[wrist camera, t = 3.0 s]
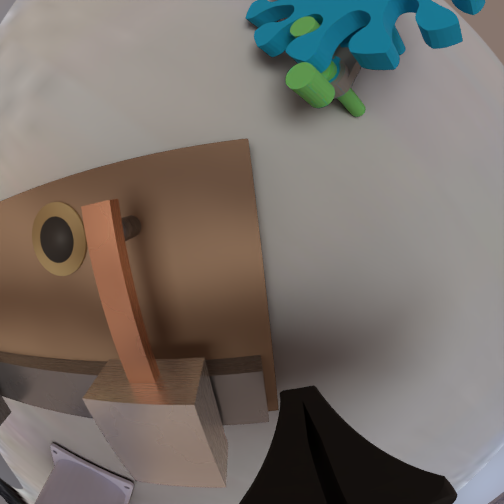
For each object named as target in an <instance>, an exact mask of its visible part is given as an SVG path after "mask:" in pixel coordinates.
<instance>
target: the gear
mask: <svg viewBox="0 0 504 504" xmlns="http://www.w3.org/2000/svg"><path fill="white" fill-rule="evenodd" d="M452 2H453V4H454V5H455V6H456V7H457V8H458V9H460V10H461V11H463V12H465V13H468V14H471V15H474V14H477V13H478V12H479V11H481V9H482V8H483V6H484V4H485V0H452ZM408 12H414V13H416V21H417V24H418V26H419V29H420V31H421V34H422V37H423V39H424V41H425V42H426V44H427V45H428V46H430V47H431V48H433V49H436V48H445V47H449V46H452V45H455V44H457V43H460V42H462V41H463V40H462V34H461V29H460V25H459V21H458V18H457V16H456V15H455V14H454V13H453V12H452V11H450V10H449V9H446V8H444V7H442V6H440V5H438V4H436V3H435V2H433V1H432V0H277V1H275V2H269V1H267V0H257V1H255V2H253V3H252V5H251V6H250V8H249V10H248V12H247V15H246V19H247V20H248V21H250V22H251V23H252V24H254V25H255V26H256V27H258V29H257V30H256V31H255V34H254V39H255V42H256V44H257V46H258V47H259V48H260V49H262V50H263V51H264V52H266V53H267V54H268V55H269V56H271V57H275V56H278V55H279V54H281V53H283V52H284V51H285V50H286V53H287V54H288V55H289V56H290V57H292V58H293V59H294V60H295V61H296V62H297V63H298V64H296V65H295V66H293V67H292V68H291V69H290V70H289V72H288V73H287V75H286V84H287V86H288V87H289V88H291V89H292V90H293V91H294V92H296V93H297V94H298V95H299V96H300V97H302V98H303V99H304V100H305V101H306V102H308V103H309V104H310V105H311V106H312V107H315V108H322V107H325V106H327V105H328V104H330V103H331V101H332V100H333V99H335V98H337V99H338V100H339V101H340V102H341V103H342V104H343V105H344V106H345V107H346V109H347V110H348V111H349V112H350V113H351V114H352V115H353V116H355V117H359V116H361V115H363V114H364V112H365V106H364V104H363V103H362V102H361V100H360V99H359V98H358V97H357V95H356V94H355V93H354V92H353V90H352V89H351V86H352V84H353V82H354V80H355V78H356V76H357V74H358V72H359V70H360V68H361V67H363V68H366V69H372V70H394V69H396V67H397V66H398V64H399V60H400V57H399V55H401V54H403V53H404V51H405V46H404V44H403V41H402V39H401V37H400V35H399V33H398V31H397V29H396V27H395V22H396V20H397V18H398V17H399V16H400V15H401V14H403V13H408ZM287 17H289V18H287ZM283 18H287V19H286V20H284V21H281V22H275V21H278V20H280V19H283Z"/></svg>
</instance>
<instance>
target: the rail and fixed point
mask: <svg viewBox="0 0 504 504" xmlns="http://www.w3.org/2000/svg"><path fill="white" fill-rule="evenodd" d="M205 361H206V365H207V369H208V373H209V377H210V381H211V385H212V389H213V393H214V396H215V400H216V404H217V407H218V411H219V414H220V418H221V421H222V425H237V424H250V423H261V422H269V415H268V405H267V398H266V390H265V382H264V375H263V367H262V359H261V355H254V356H244V357H234V358H223V359H209V360H205ZM107 362H108V361H85V360H70V359H58V358H48V357H38V356H30V355H22V354H15V353H9V352H3V351H0V425H1V424H2V423H3V422H4V420H5V419H6V418H7V417H8V416H9V414H10V413H11V411H10V409H9V408H8V406H7V404H6V403H5V401H4V399H3V398H2V396H4V397H7V398H10V399H13V400H16V401H19V402H23V403H26V404H29V405H33V406H37V407H41V408H44V409H49V410H53V411H57V412H62V413H66V414H71V415H76V416H82V417H87V418H93V417H92V415H91V413H90V412H89V410H88V408H87V406H86V405H85V403H84V401H83V399H82V398H83V396H84V395H85V394H86V392H87V391H88V389H89V388H90V386H91V385H92V383H93V382H94V380H95V379H96V378H97V376H98V375H99V373H100V372H101V370H102V369H103V368H104V366H105V365H106V363H107Z"/></svg>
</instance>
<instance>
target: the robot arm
mask: <svg viewBox="0 0 504 504" xmlns="http://www.w3.org/2000/svg"><path fill="white" fill-rule="evenodd" d="M50 448H51V453H52V458H53V462H54V468H53V470H52V472H51V474H50V475H49V477H48V479H47V481H46V483H45V485H44V487H43V489H42V490H41V492H40V494H39V496H38V498H37V500H36V502H35V504H128V503H129V500H130V497H131V493H132V490H133V487H134V484H133V483H132V482H131V481H128V480H126V479H124V478H121V477H119V476H116V475H114V474H112V473H109V472H107V471H105V470H103V469H101V468H99V467H97V466H94V465H92V464H90V463H88V462H86V461H85V460H83V459H81V458H79V457H77V456H75V455H73V454H71V453H70V452H68V451H66V450H64V449H63V448H61V447H59V446H58V445H56V444H54V443H52V444H51V445H50ZM456 498H457V493H456V491H455V490H454V488H453V486H452V485H451V484H450V482H449V481H448V480H447V479H446V478H445V476H441V475H437V474H434V473H430V472H427V471H424V470H421V469H419V468H416V467H414V466H411V465H409V464H407V463H405V462H403V461H401V460H399V459H397V458H395V457H393V456H391V455H389V454H387V453H386V452H384V451H382V450H381V449H379V448H378V447H376V446H375V445H373V444H372V443H370V442H369V441H368V440H366V439H365V438H364V437H362V436H361V435H360V434H359V433H357V432H356V431H355V430H354V429H353V428H352V427H351V426H350V425H348V424H347V423H346V422H345V421H344V420H343V419H342V418H341V417H340V416H339V415H338V414H337V412H336V411H335V410H334V409H333V408H332V407H331V406H330V405H329V403H328V402H327V401H326V400H325V399H324V397H323V396H322V395H321V393H320V392H319V391H318V389H317V388H316V387H315V386H309V387H303V388H297V389H290V390H283V391H282V392H281V393H280V411H279V417H278V422H277V426H276V430H275V434H274V437H273V440H272V443H271V446H270V448H269V451H268V454H267V456H266V458H265V460H264V463H263V465H262V467H261V469H260V471H259V473H258V475H257V476H256V478H255V480H254V482H253V483H252V485H251V487H250V488H249V490H248V491H247V493H246V494H245V496H244V497H243V499H242V500H241V501H240V503H239V504H453V503H454V501H455V500H456ZM488 504H504V492H503V493H502V494H500V495H499V496H498V497H497V498H495V499H494V500H493V501H491V502H490V503H488Z"/></svg>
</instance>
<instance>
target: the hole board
mask: <svg viewBox="0 0 504 504" xmlns="http://www.w3.org/2000/svg"><path fill="white" fill-rule="evenodd" d="M113 199H118V200H119V207H120V213H121V218H122V217H126V216H130V215H133V216H136V217H137V218H138V219H139V220H140V222H141V231H140V233H139V235H138V236H136V237H134V238H132V239H130V240H128V241H126V242H125V243H126V248H127V253H128V258H129V263H130V268H131V272H132V277H133V281H134V285H135V290H136V294H137V298H138V302H139V306H140V309H141V313H142V317H143V320H144V324H145V327H146V331H147V334H148V338H149V341H150V344H151V348H152V351H153V354H154V357H155V359H184V358H202V357H205V360H209V359H223V358H234V357H244V356H254V355H261V359H262V367H263V375H264V382H265V390H266V398H267V405H268V411H275V410H279V409H278V399H277V389H276V379H275V370H274V360H273V351H272V341H271V332H270V323H269V313H268V304H267V295H266V286H265V277H264V268H263V260H262V251H261V242H260V234H259V225H258V216H257V208H256V200H255V191H254V183H253V175H252V167H251V158H250V150H249V142H248V139H239V140H231V141H224V142H217V143H210V144H204V145H198V146H192V147H186V148H180V149H175V150H170V151H165V152H160V153H155V154H150V155H146V156H141V157H137V158H133V159H129V160H124V161H120V162H116V163H113V164H109V165H105V166H101V167H98V168H94V169H91V170H87V171H84V172H81V173H77V174H74V175H71V176H68V177H65V178H62V179H59V180H56V181H53V182H50V183H47V184H44V185H41V186H38V187H36V188H33V189H30V190H28V191H25V192H23V193H20V194H17V195H15V196H12V197H10V198H8V199H5V200H3V201H1V202H0V351H3V352H9V353H15V354H22V355H30V356H38V357H48V358H58V359H70V360H85V361H109V359H118V360H120V358H119V355H118V352H117V350H116V347H115V344H114V341H113V338H112V335H111V332H110V329H109V326H108V323H107V320H106V316H105V313H104V310H103V306H102V303H101V299H100V296H99V292H98V288H97V284H96V280H95V276H94V272H93V268H92V264H91V259H90V255H89V250H88V245H87V240H86V234H85V229H84V223H83V216H82V210H81V206H85V205H90V204H94V203H98V202H102V201H107V200H113Z"/></svg>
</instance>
